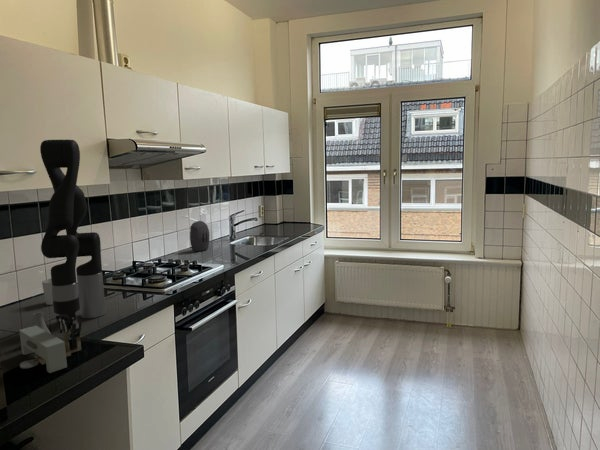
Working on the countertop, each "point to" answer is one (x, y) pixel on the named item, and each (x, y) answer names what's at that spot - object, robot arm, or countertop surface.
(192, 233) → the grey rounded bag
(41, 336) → the low white stool
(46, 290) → the white cup
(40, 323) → the flask
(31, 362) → the disc
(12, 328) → the countertop surface
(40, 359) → the brown block
